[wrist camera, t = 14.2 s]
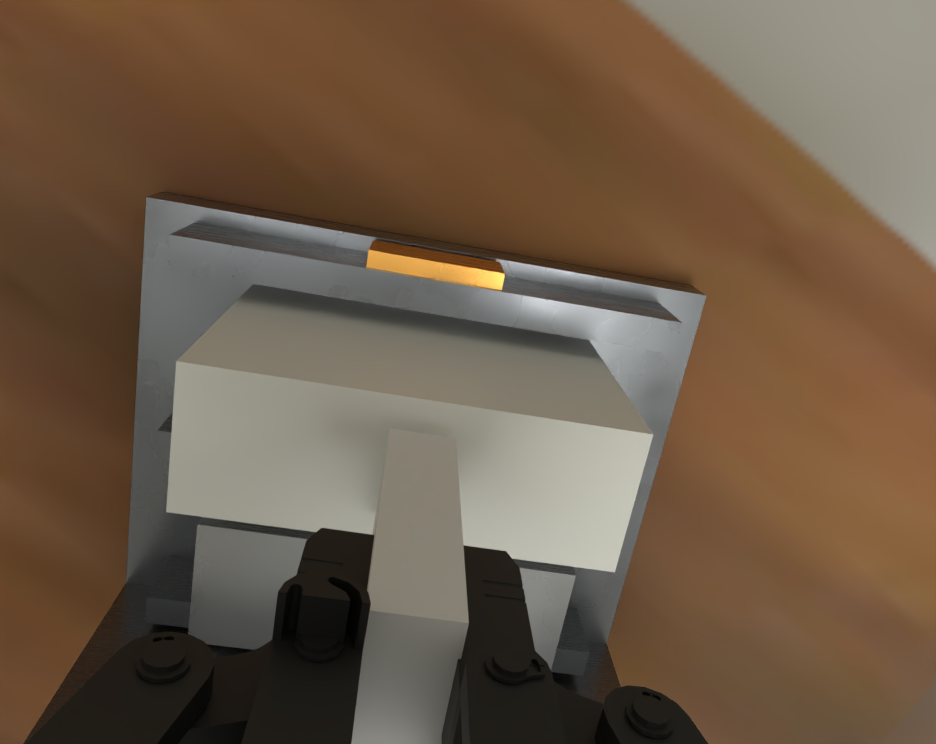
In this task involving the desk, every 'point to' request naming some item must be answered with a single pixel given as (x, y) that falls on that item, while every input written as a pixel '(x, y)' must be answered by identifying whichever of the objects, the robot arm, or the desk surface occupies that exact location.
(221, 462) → the beige rectangular block
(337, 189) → the desk surface
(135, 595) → the rack
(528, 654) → the robot arm
